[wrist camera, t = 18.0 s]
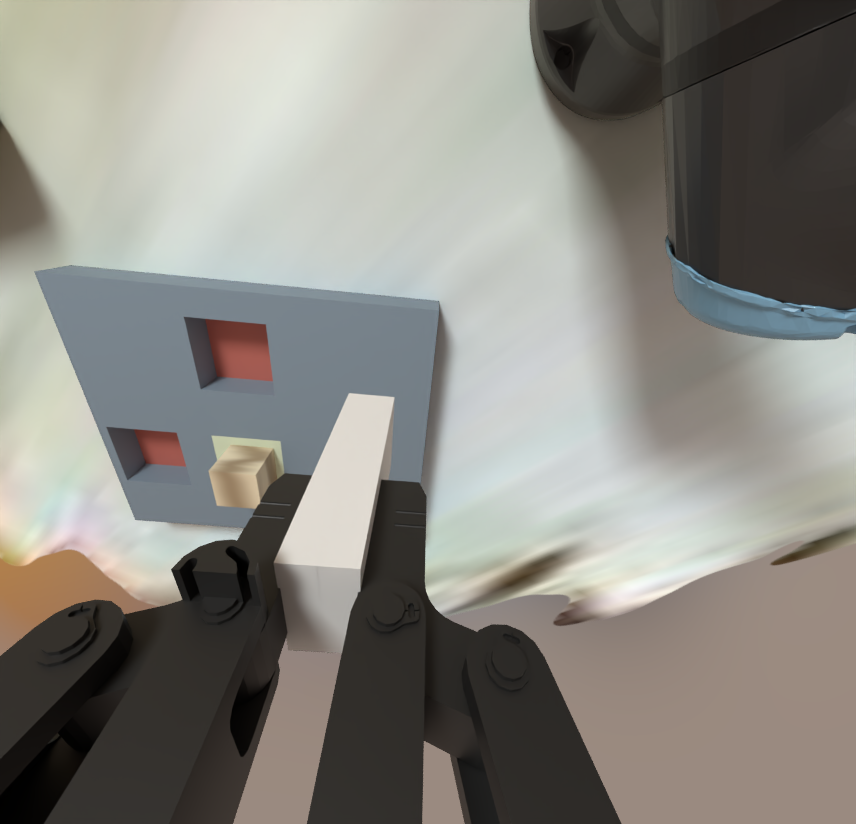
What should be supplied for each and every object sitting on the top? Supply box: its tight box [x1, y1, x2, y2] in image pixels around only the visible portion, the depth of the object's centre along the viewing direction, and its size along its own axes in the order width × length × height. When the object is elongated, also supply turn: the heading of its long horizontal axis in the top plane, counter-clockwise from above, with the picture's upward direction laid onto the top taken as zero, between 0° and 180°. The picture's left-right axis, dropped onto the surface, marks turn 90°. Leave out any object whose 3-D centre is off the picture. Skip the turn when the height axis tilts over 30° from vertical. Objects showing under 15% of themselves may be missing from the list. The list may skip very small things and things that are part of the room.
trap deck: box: [35, 265, 439, 528], centre depth 45 cm, size 38×32×4 cm
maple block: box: [209, 445, 277, 509], centre depth 43 cm, size 5×5×5 cm
